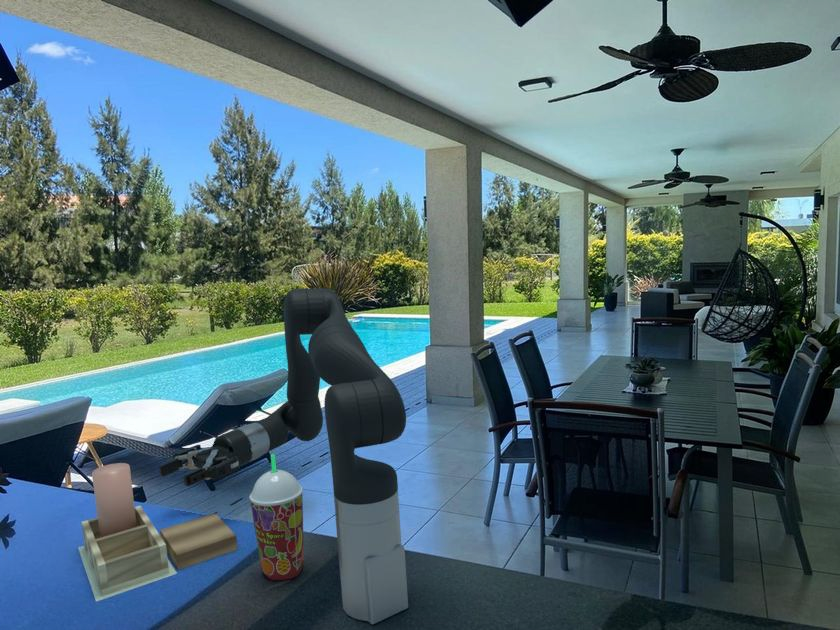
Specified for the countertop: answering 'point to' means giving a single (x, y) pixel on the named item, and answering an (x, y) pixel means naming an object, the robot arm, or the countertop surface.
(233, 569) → the countertop surface
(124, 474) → the pink cylinder
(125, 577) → the caddy
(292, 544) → the smoothie
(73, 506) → the countertop surface
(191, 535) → the board
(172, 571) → the mat
